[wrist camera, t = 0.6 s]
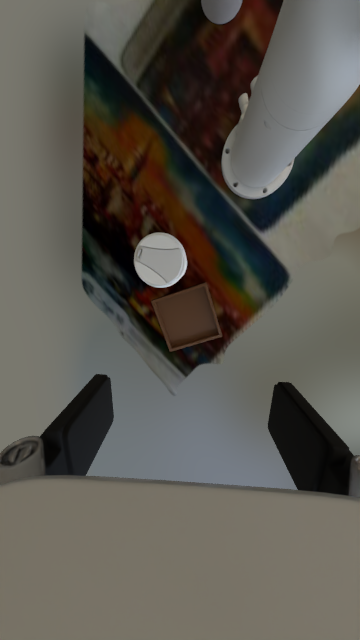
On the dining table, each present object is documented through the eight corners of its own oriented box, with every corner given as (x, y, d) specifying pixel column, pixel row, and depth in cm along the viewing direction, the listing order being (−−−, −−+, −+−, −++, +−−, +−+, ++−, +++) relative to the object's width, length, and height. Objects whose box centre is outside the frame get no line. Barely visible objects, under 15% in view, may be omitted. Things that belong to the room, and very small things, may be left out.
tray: (152, 299, 42) (150, 301, 40) (205, 282, 40) (206, 282, 38) (170, 348, 44) (169, 351, 42) (220, 333, 43) (222, 336, 41)
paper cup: (146, 275, 40) (125, 277, 27) (157, 239, 38) (140, 221, 25) (180, 288, 41) (176, 296, 27) (193, 252, 39) (195, 242, 25)
